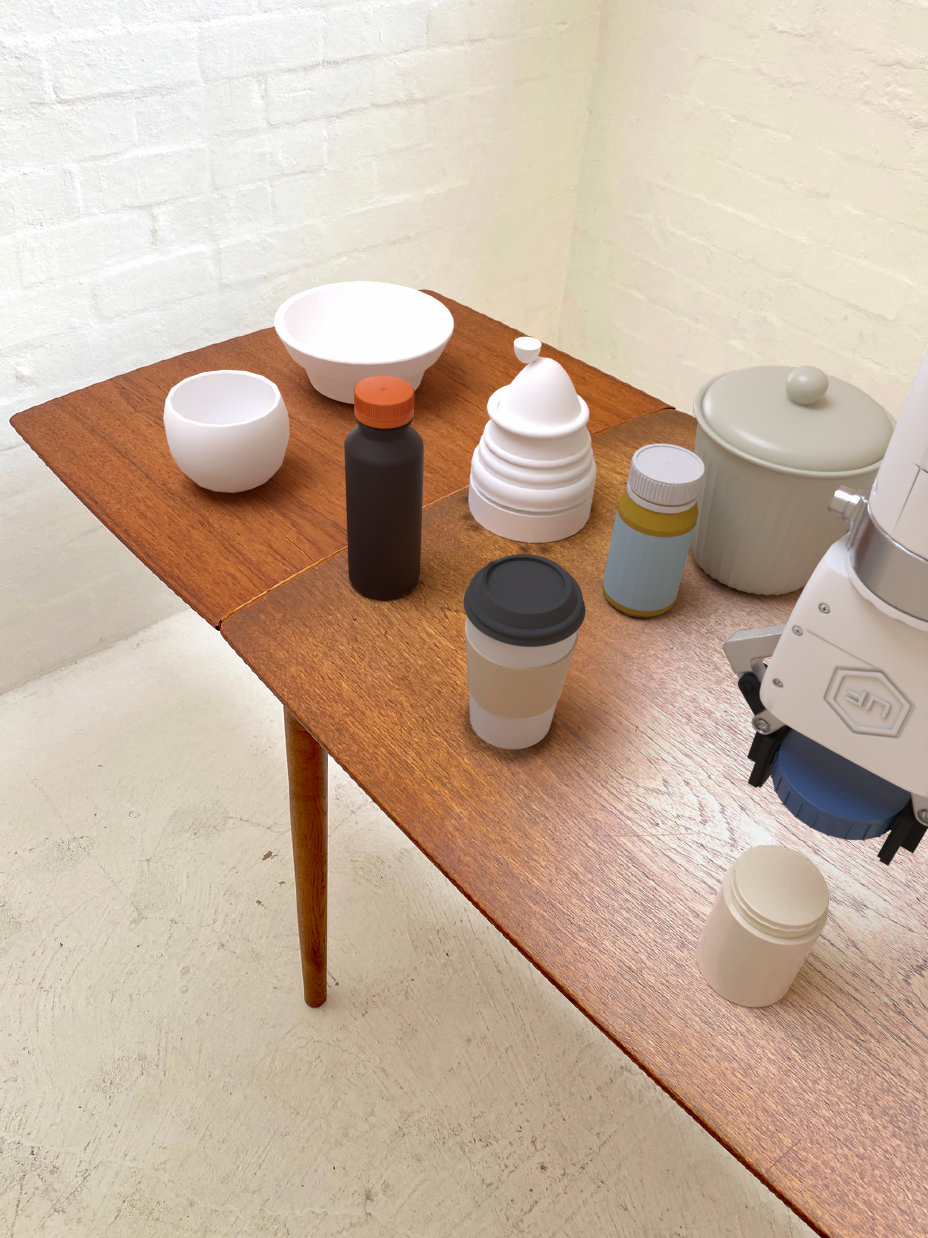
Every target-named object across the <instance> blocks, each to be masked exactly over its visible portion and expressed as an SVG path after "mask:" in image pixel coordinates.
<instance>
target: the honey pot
mask: <svg viewBox="0 0 928 1238" xmlns="http://www.w3.org/2000/svg"><path fill="white" fill-rule="evenodd" d="M541 349H542V342H541V341H540V340H539V339H538V338H536V337H531V336H521V337H518V338H515V339H514V341H513V350H514V351H513V352H514V354H515V356H516V358H517V359H518V361H520V362H521V363H523V364H526V365H525V367H523V368H522V369H521V370H520V372H519V373H518V374H517V375H516V376H515V378H514V379H513V380H512V381H511V383H510V384H508V385H505V386H502V387H501V388H499V389H497V390H494V392H493V394H492V395H490V397H489V398H488V400H487V403H486V404H487V405H486V410H487V415H488V417H489V420H488V422H486V424H485V426H484V430H483V433H482V435H481V436H480V439H479V443H478V444H477V445H476V447H475V448H474V450H473V454H472V456H471V461H470V465H471V466H470V471H469V472H470V474H469V485H468V501H467V502H468V508H469V512H470V514H471V516H473V517H472V518H473V519H474V520H475V521H476V522H477V523H478V524H479V525H480V526H482V527H483V528H484V529H485V530H487V531H489V532H490V533H493V534H495V535H496V536H499V537H502V538H505V539H507V540H511V541H514V542H521V543H528V544H539V543H540V544H541V543H542V544H543V543H544V544H545V543H551V542H557V541H561V540H565V539H567V538H570V537H572V536H573V535H575V534H577V533H578V532H579V531H580V530H582V529H583V528H584V527H585V526H586V524H587V522H588V520H589V519H590V515H591V511H592V510H591V509H592V503H593V498H594V490H595V485H596V481H597V480H596V479H597V473H598V470H597V469H598V468H597V464H596V460H595V457H594V449H593V447H592V437H591V434H590V431H589V429H588V427H587V424H588V422H589V421H590V408H589V406H588V403H587V402H586V401H585V400H584V398H582V396H580V395H579V394H578V393H577V391H576V388H575V386H574V384H573V383H574V382H573V381H572V379H571V377H570V375H569V374H568V372H567V371H566V369H565V368H564V367H563V366H562V365H561V364H560V363H559V362H558V361H556V360H554V359H552V358H551V357H543V356H539V355H540V352H541Z"/></svg>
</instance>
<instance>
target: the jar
mask: <svg viewBox="0 0 928 1238" xmlns="http://www.w3.org/2000/svg"><path fill="white" fill-rule="evenodd" d="M829 890H830V889H829V887H828V883H827V881H826V879H825V877H824V875H823V874H822V872H821V870H819V868H818V866H817V865H815V864H814V862H812V860H810V859H809V858H808V857H807V856H805V855H804V854H802V853H800V852H798V851H796V850H794V849H792V848H789V847H786V846H782V845H777V844H760V845H757V846H753V847H750V848H748V849H747V850H745V851H743V852H742V853H741V854H740V856H738V857H737V859H736V860H735V861H734V862H733V863H732V864H731V865H730V866H729V867H728V868H727V870H726V872H725V874H724V876H723V879H722V881H721V884H720V885H719V888H718V891H717V893H716V895H715V898H714V900H713V903H712V905H711V908H710V910H709V913H708V915H707V917H706V920H705V922H704V924H703V927H702V930H701V932H700V934H699V936H698V939H697V942H696V947H695V959H696V964H697V967H698V969H699V972H700V973H701V976H702V977H703V979H704V980H705V982H706V983H707V985H708V986H709V987H710V988H711V989H712V990H713V991H714V992H715V993H716V994H718V996H720V997H722V998H723V999H725V1000H727V1001H728V1002H731V1003H733V1004H735V1005H738V1006H742V1007H746V1008H765V1007H768V1006H771V1005H773V1004H776V1003H777V1002H779V1001H780V1000H781V999H782V998H784V997H785V995H786V994H787V993H788V991H789V989H790V988H791V986H792V984H793V982H794V981H795V979H796V977H797V975H798V974H799V972H800V970H801V968H802V966H803V965H804V963H805V961H807V957H808V956H809V954H810V953H811V951H812V949H813V947H814V946H815V944H816V942H817V940H818V939H819V937H820V935H821V934H822V933H823V930H824V929H825V927H826V925H827V921H828V917H829V905H830V892H829Z"/></svg>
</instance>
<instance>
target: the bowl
mask: <svg viewBox="0 0 928 1238" xmlns="http://www.w3.org/2000/svg"><path fill="white" fill-rule="evenodd" d="M273 325H274V329H275V332H276V334H277V336H278V337H279V339H280V340H281V343H282V344H283V346H284V347H285V349H286V351H287V352H288V355H289V356H290V357H291V359H292V360H293V361H294V362H295V363H296V364H297V365H299V366H300V367H301V368H304V369H305V372H306V374H307V377H308V379H309V382H310V384H311V386H313V388H314V389H315V390H316V391H317V392H319V393H320V394H321V395H323V396H325V397H327V398H329V399H332V400H334V401H337V402H341V403H345V404H351V405H354V389H355V388H354V387H355V386H356V385H357V384H358V383H359V382H360V381H362V380H364V379H366V378H369V377H374V376H392V377H397V378H400V379H403V380H405V381H406V382H408V383H409V384H410V385H411V386H412V387H413V389H414V392H415V391H416V390H417V389H418V388H419V386H420V385H421V383H422V379H423V377H424V375H425V373H426V370H428V368H430V367H432V366H433V365H434V364H435V363H436V362H437V361H438V360H439V358H440V357H441V355H442V354H443V352H444V350H445V348H446V346H447V345H448V342H449V341H450V339H451V338H452V335H453V333H454V329H455V321H454V317H453V315H452V313H451V311H450V310H449V308H448V307H447V306H445V304H443V303H442V302H441V301H439V300H438V299H437V298H434V297H433V296H431V295H429V294H427V293H424V292H423V291H421V290H418V289H414V288H410V287H408V286H402V285H399V284H392V283H387V282H378V281H346V282H343V281H342V282H336V283H329V284H324V285H320V286H316V287H315V286H314V287H312V288H309V289H307V290H304V291H302V292H299V293H297V294H295V295H293V296H292V297H290V298H288V299H287V300H286V301H284V302H283V303H282V304H281V305H280V307H279V308H278V309H277V310H276V313H275V315H274V320H273Z"/></svg>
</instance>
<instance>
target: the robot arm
mask: <svg viewBox="0 0 928 1238" xmlns="http://www.w3.org/2000/svg"><path fill="white" fill-rule="evenodd" d="M896 423H897V425H896V427H895V430H894V432H893V435H892V438H891V440H890V443H889V445H888V448H887V450H886V453H885V456H884V458H883V461H882V463H881V466H880V468H879V471H878V474H877V476H876V479H875V481H874V484H873V485H872V486H870V487H869V488H868V489H867V490H866V491H864V490H861V489H857V490H853V489H851V488H849V487H846V486H844V485H841V486H840V487H839V488H838V489H837V491H836V492H835V494H834V496H833V497H832V499H831V502H830V504H829V507H828V511H829V512H830V513H833V514H835V515H837V516H839V517H842V521H843V522H846V523H848V524H849V526H848V530H847V532H846V534H845V535H844V536H843V537H842V538H841V539H840V540H838V541H836V542H835V543H834V544H833V545H832V546H831V547H830V548H829V549H828V551H827V552H826V553H825V555H824V556H823V558H822V559H821V561H820V562H819V564H818V565H817V567H816V569H815V570H814V572H813V574H812V575H811V577H810V579H809V580H808V582H807V584H806V586H804V587H803V590H802V592H801V593H800V595H799V598H798V599H797V601H796V603H795V605H794V607H793V609H792V611H791V613H790V615H789V618H788V620H787V622H785V623H779V624H772V625H766V626H760V627H753V628H752V627H751V628H747V629H740V630H736V631H734V633H732V635H731V636H730V637H729V638H728V639H727V640H726V641H725V642H724V643H723V644H722V651H723V653H724V654H725V657H726V659H727V661H728V663H729V665H730V667H731V669H732V671H733V673H734V675H736V676H737V678H738V681H737V687H738V690H739V691H740V693H741V694H742V696H743V698H744V700H745V701H746V703H747V705H748V707H749V709H750V710H751V712H752V714H753V717H752V718H751V726H752V728H753V729H754V730H755V734H754V736H753V740H752V742H751V745H750V748H749V751H748V753H747V756H746V757H747V758H746V759H748V760H750V761H751V762H753V763H754V764H753V767H752V770H751V773H750V774H749V778H748V780H747V784H748V785H749V786H751V787H752V788H755V789H757V788H759V789H761V788H762V787H763V786H764V785H765V783H766V782H767V781H768V780H769V778H771V777H770V776H771V774H772V765H771V764H772V761H773V759H774V756H775V753H776V751H777V750H779V747H780V745H781V742H782V740H783V739H784V738H785V736H786V735H787V734H788V733H789V731H790V730H791V729H794V730H796V731H798V732H800V733H801V734H803V735H805V736H807V737H809V738H810V739H812V740H814V741H816V742H817V743H819V744H821V745H823V746H825V747H826V748H828V749H830V750H832V751H834V752H835V753H837V754H839V755H841V756H843V757H845V758H846V759H848V760H850V761H852V762H854V763H856V764H857V765H859V766H861V767H863V768H865V769H867V770H868V771H870V772H872V773H874V774H876V775H878V776H880V777H882V778H883V779H885V780H887V781H889V782H891V783H893V784H895V785H897V786H899V787H901V788H902V789H904V790H906V791H909V792H911V797H910V799H909V801H908V802H907V804H906V805H905V807H904V809H903V810H902V812H901V814H900V815H899V817H898V819H897V821H896V822H895V824H894V826H893V828H892V830H890V831H889V833H888V835H887V837H886V839H885V840H884V842H883V844H882V845H881V848H880V849H879V851H878V853H877V855H876V858H878V859H879V860H878V861H879V862H881V863H882V864H884V865H885V866H887V867H889V866H890V864H891V862H892V861H893V859H894V858H895V856H896V854H897V852H898V851H899V849H900V847H901V848H902V849H904V850H905V851H907V852H909V853H911V854H914V853H915V851H916V850H917V848H918V846H919V844H920V843H921V841H922V840H923V838H924V836H925V835H926V833H927V831H928V342H927V343H926V345H925V348H924V351H923V353H922V357H921V359H920V361H919V364H918V366H917V369H916V372H915V375H914V377H913V380H912V382H911V385H910V387H909V391H908V393H907V395H906V398H905V401H904V403H903V406H902V409H901V412H900V413H899V417H898V419H897V421H896ZM765 658H770V660H769V663H768V664H767V663H765V662H764V659H765Z"/></svg>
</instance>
